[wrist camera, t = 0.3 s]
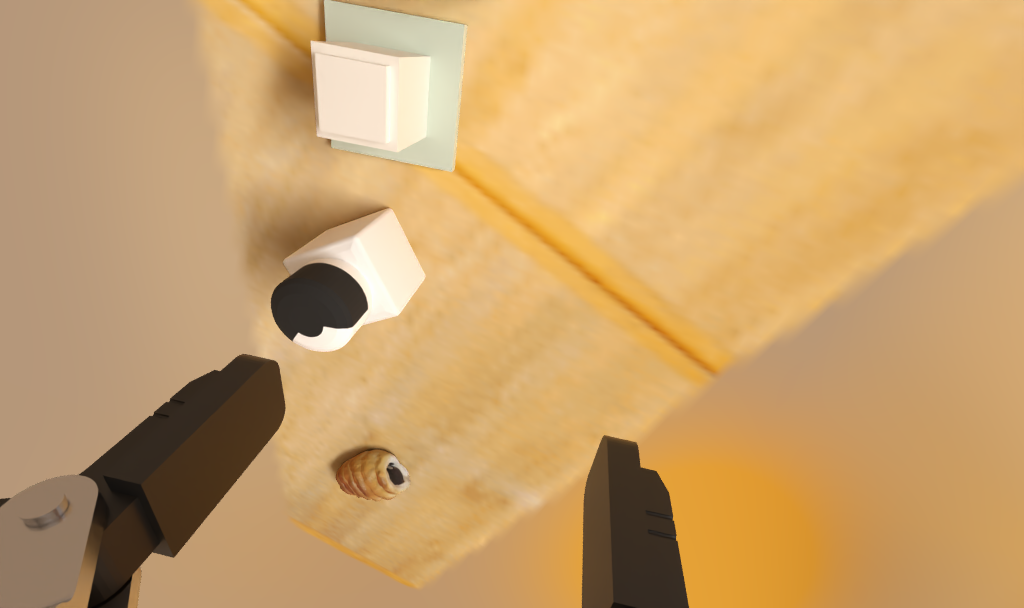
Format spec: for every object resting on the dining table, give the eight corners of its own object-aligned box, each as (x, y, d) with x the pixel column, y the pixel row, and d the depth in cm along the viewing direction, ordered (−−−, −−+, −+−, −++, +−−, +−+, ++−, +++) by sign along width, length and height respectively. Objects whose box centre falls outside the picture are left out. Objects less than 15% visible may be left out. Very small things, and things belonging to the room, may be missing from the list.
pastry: (359, 490, 59) (345, 516, 56) (330, 455, 57) (314, 480, 54) (417, 478, 56) (406, 505, 53) (389, 441, 54) (376, 466, 50)
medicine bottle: (326, 229, 40) (236, 290, 30) (392, 205, 38) (320, 262, 28) (364, 295, 43) (294, 372, 33) (427, 277, 41) (374, 352, 31)
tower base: (329, 0, 31) (263, -13, 25) (467, 25, 31) (435, 18, 25) (336, 145, 36) (282, 166, 30) (454, 169, 36) (425, 195, 30)
